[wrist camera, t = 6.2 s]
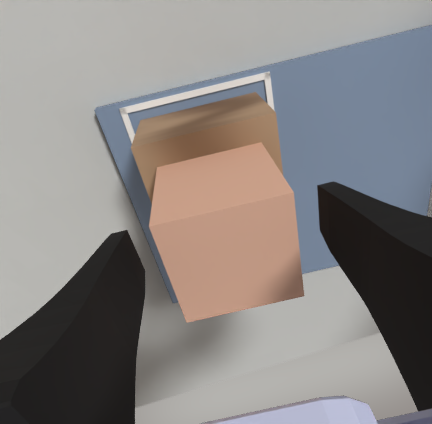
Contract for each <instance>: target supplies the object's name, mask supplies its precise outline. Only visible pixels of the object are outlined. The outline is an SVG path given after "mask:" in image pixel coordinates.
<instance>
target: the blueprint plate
mask: <svg viewBox="0 0 432 424" xmlns="http://www.w3.org/2000/svg"><path fill="white" fill-rule="evenodd" d="M253 92H256V93H257V94H258V95H259V96H260V97H261V98H262V99H263V100H264V101H265V102H266V103H267V104H268V105H269V106H270V107H271V108H272V109H273V110H274V111H275V112H276V117H277V126H278V134H279V143H280V152H281V160H282V169H283V176H284V178H285V179H286V181H287V183H288V184H289V186H290V187H291V189H292V190H293V192H294V199H295V209H296V219H297V229H298V239H299V249H300V259H301V269H302V274H304V273H308V272H312V271H317V270H321V269H325V268H330V267H334V266H338V265H339V264H338V263H337V261H336V260H335V258H334V257H333V255H332V254H331V252H330V250H329V248H328V246H327V244H326V242H325V240H324V238H323V236H322V234H321V232H320V227H319V209H318V191H317V185H320V184H324V183H329V182H333V181H334V182H337V183H340V184H342V185H345V186H347V187H349V188H352V189H354V190H356V191H359V192H361V193H363V194H366V195H368V196H370V197H373V198H375V199H378V200H380V201H383V202H385V203H388V204H390V205H393V206H396V207H399V208H402V209H405V210H408V211H411V212H414V213H417V214H421V215H424V216H427V211H428V205H429V198H430V192H431V185H432V25H429V26H425V27H421V28H417V29H413V30H409V31H405V32H401V33H396V34H392V35H388V36H384V37H380V38H376V39H372V40H368V41H364V42H360V43H356V44H352V45H348V46H344V47H340V48H336V49H332V50H328V51H324V52H320V53H316V54H312V55H307V56H303V57H299V58H295V59H291V60H287V61H283V62H279V63H275V64H271V65H267V66H263V67H259V68H255V69H251V70H247V71H243V72H239V73H235V74H231V75H227V76H223V77H218V78H214V79H210V80H206V81H202V82H198V83H194V84H190V85H186V86H182V87H178V88H174V89H170V90H166V91H162V92H158V93H154V94H150V95H146V96H142V97H138V98H134V99H129V100H125V101H121V102H117V103H113V104H109V105H105V106H101V107H97V108H96V109H95V113H96V115H97V118H98V120H99V123H100V125H101V128H102V130H103V133H104V135H105V137H106V140H107V142H108V145H109V147H110V150H111V152H112V155H113V157H114V160H115V162H116V164H117V167H118V169H119V172H120V174H121V177H122V179H123V182H124V184H125V187H126V189H127V191H128V194H129V196H130V199H131V201H132V204H133V206H134V209H135V211H136V213H137V216H138V218H139V221H140V223H141V226H142V228H143V231H144V233H145V236H146V238H147V240H148V243H149V245H150V248H151V250H152V253H153V255H154V258H155V260H156V263H157V265H158V267H159V270H160V272H161V275H162V277H163V280H164V282H165V285H166V287H167V290H168V292H169V294H170V297H171V299H172V302H173V303H177V302H178V299H177V297H176V294H175V292H174V289H173V287H172V284H171V281H170V279H169V276H168V274H167V271H166V269H165V266H164V264H163V261H162V259H161V256H160V253H159V251H158V248H157V246H156V243H155V241H154V238H153V236H152V233H151V231H150V228H149V222H150V215H151V208H152V204H151V201H150V198H149V196H148V193H147V190H146V188H145V185H144V182H143V180H142V177H141V174H140V171H139V169H138V166H137V163H136V161H135V158H134V155H133V153H132V150H131V145H132V143H133V140H134V137H135V134H136V131H137V128H138V125H139V123H140V120H143V119H147V118H151V117H156V116H160V115H164V114H168V113H172V112H176V111H180V110H184V109H188V108H192V107H196V106H200V105H204V104H209V103H213V102H217V101H221V100H225V99H229V98H233V97H237V96H241V95H245V94H249V93H253Z"/></svg>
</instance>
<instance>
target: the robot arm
mask: <svg viewBox="0 0 432 424" xmlns="http://www.w3.org/2000/svg"><path fill="white" fill-rule="evenodd" d="M317 191H318V209H319V227H320V232H321V234H322V236H323V238H324V240H325V242H326V244H327V246H328V248H329V250H330V252H331V254H332V255H333V257H334V258H335V260H336V261H337V263H338V264H339V266H340V267H341V269H342V270H343V272H344V273H345V274H346V276H347V277H348V279H349V280H350V282H351V283H352V285H353V286H354V288H355V289H356V291H357V292H358V293H359V295H360V296H361V298H362V300H363V301H364V303H365V304H366V306H367V308H368V310H369V311H370V313H371V315H372V317H373V319H374V321H375V323H376V325H377V326H378V328H379V330H380V332H381V334H382V336H383V338H384V340H385V342H386V344H387V346H388V348H389V350H390V352H391V354H392V356H393V358H394V360H395V362H396V364H397V366H398V368H399V370H400V373H401V375H402V377H403V379H404V381H405V383H406V385H407V387H408V389H409V392H410V394H411V396H412V398H413V400H414V403H415V405H416V407H417V409H418V412H414V413H409V414H405V415H400V416H396V417H391V418H386V419H381V420H376V419H375V417H374V415H373V413H372V411H371V409H370V407H369V405H368V404H366V403H364V402H361V401H358V400H356V399H352V398H349V397H346V396H333V397H320V398H315V399H310V400H306V401H301V402H297V403H292V404H288V405H283V406H278V407H273V408H269V409H264V410H260V411H255V412H250V413H246V414H241V415H237V416H232V417H228V418H224V419H218V420H214V421H209V422H205V423H201V424H432V217H428V216H424V215H421V214H417V213H414V212H411V211H408V210H405V209H402V208H399V207H396V206H393V205H390V204H388V203H385V202H383V201H380V200H378V199H375V198H373V197H370V196H368V195H366V194H363V193H361V192H359V191H356V190H354V189H352V188H349V187H347V186H345V185H342V184H340V183H337V182H334V181H333V182H329V183H324V184H320V185H317ZM144 298H145V270H144V267H143V265H142V263H141V260H140V258H139V256H138V254H137V251H136V249H135V247H134V244H133V242H132V240H131V238H130V235H129V233H128V231H127V230H125V231H121V232H117V233H112V234H111V235H110V236H109V237H108V238H107V239H106V240H105V241H104V242H103V243H102V244H101V246H100V247H99V248H98V249H97V250H96V251H95V253H94V254H93V255H92V256H91V257H90V258H89V260H88V261H87V262H86V263H85V264H84V265H83V267H82V268H81V269H80V270H79V271H78V272H77V273H76V274H75V275H74V276H73V277H72V278H71V279H70V281H69V282H68V283H67V284H66V285H65V286H64V287H63V288H62V289H61V290H60V291H59V292H58V293H57V294H56V295H55V296H54V297H53V298H52V299H51V300H49V301H48V302H47V303H46V304H45V305H44V306H43V307H42V308H40V309H39V310H38V311H37V312H36V313H35V314H33V315H32V316H31V317H30V318H28V319H27V320H26V321H25V322H23V323H22V324H21V325H19V326H18V327H17V328H16V329H14V330H13V331H12V332H11V333H9V334H8V335H6V336H5V337H4V338H2V339H1V340H0V424H135V376H136V356H137V346H138V340H139V333H140V326H141V319H142V312H143V305H144Z"/></svg>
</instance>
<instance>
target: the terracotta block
mask: <svg viewBox="0 0 432 424" xmlns="http://www.w3.org/2000/svg"><path fill="white" fill-rule="evenodd" d="M149 228H150V231H151V233H152V236H153V238H154V241H155V243H156V246H157V248H158V251H159V253H160V256H161V259H162V261H163V264H164V266H165V269H166V271H167V274H168V276H169V279H170V281H171V284H172V287H173V289H174V292H175V294H176V297H177V299H178V302H179V304H180V307H181V309H182V312H183V314H184V317H185V320H186V322H187V323H188V322H192V321H197V320H201V319H205V318H210V317H214V316H219V315H223V314H227V313H232V312H236V311H241V310H245V309H249V308H254V307H258V306H263V305H267V304H271V303H276V302H280V301H284V300H289V299H293V298H298V297H302V296H304V290H303V280H302V269H301V259H300V249H299V239H298V229H297V219H296V209H295V199H294V192H293V190H292V189H291V187H290V186H289V184H288V183H287V181H286V179H285V178H284V176H283V175H282V173H281V172H280V170H279V169H278V167H277V166H276V164H275V162H274V161H273V159H272V158H271V156H270V155H269V153H268V152H267V150H266V148H265V147H264V145H263V144H262V142H260V143H256V144H252V145H248V146H244V147H240V148H235V149H231V150H227V151H223V152H219V153H215V154H211V155H206V156H202V157H198V158H194V159H190V160H186V161H181V162H177V163H173V164H169V165H165V166H161V167H157V171H156V178H155V185H154V193H153V200H152V208H151V215H150V222H149Z"/></svg>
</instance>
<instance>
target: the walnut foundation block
mask: <svg viewBox="0 0 432 424" xmlns="http://www.w3.org/2000/svg"><path fill="white" fill-rule="evenodd" d="M260 142H262V144H263V145H264V147H265V148H266V150H267V152H268V153H269V155H270V156H271V158H272V159H273V161H274V162H275V164H276V166H277V167H278V169H279V170H280V172H281V173H282V175H283V169H282V160H281V152H280V143H279V134H278V126H277V117H276V112H275V111H274V110H273V109H272V108H271V107H270V106H269V105H268V104H267V103H266V102H265V101H264V100H263V99H262V98H261V97H260V96H259V95H258V94H257V93H256V92H253V93H249V94H245V95H241V96H237V97H233V98H229V99H225V100H221V101H217V102H213V103H209V104H204V105H200V106H196V107H192V108H188V109H184V110H180V111H176V112H172V113H168V114H164V115H160V116H156V117H151V118H147V119H143V120H140V123H139V125H138V128H137V131H136V134H135V137H134V140H133V143H132V145H131V150H132V153H133V155H134V158H135V161H136V163H137V166H138V169H139V171H140V174H141V177H142V180H143V182H144V185H145V188H146V190H147V193H148V196H149V198H150V201H151V204H152V200H153V193H154V185H155V178H156V171H157V167H161V166H165V165H169V164H173V163H177V162H181V161H186V160H190V159H194V158H198V157H202V156H206V155H211V154H215V153H219V152H223V151H227V150H231V149H235V148H240V147H244V146H248V145H252V144H256V143H260Z"/></svg>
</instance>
